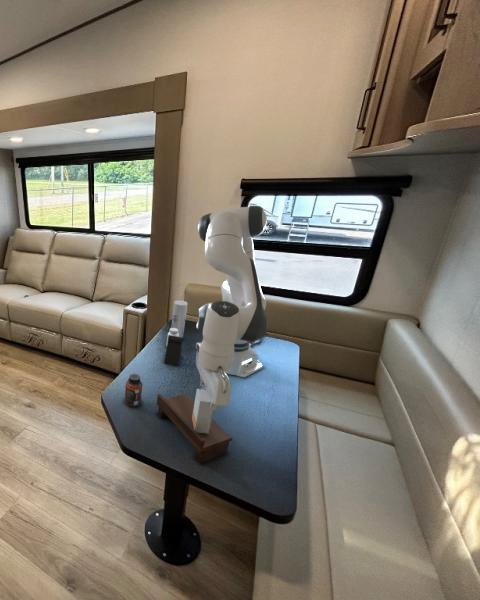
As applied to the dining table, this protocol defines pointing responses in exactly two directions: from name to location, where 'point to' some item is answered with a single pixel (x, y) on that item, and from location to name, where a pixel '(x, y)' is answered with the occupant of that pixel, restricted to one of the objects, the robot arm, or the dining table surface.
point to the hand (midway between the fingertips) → (207, 397)
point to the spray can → (179, 316)
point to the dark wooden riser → (181, 416)
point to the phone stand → (173, 350)
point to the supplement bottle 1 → (133, 390)
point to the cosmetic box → (202, 412)
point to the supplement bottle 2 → (173, 333)
